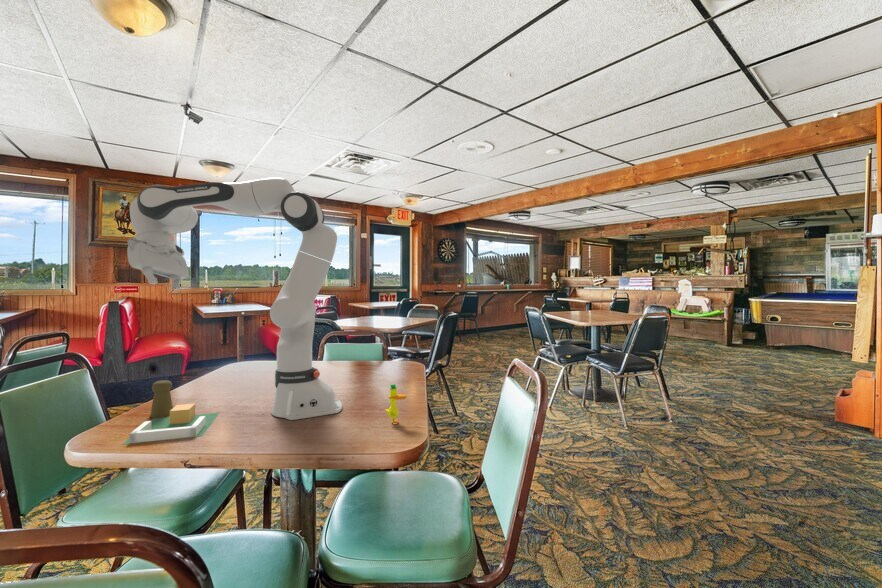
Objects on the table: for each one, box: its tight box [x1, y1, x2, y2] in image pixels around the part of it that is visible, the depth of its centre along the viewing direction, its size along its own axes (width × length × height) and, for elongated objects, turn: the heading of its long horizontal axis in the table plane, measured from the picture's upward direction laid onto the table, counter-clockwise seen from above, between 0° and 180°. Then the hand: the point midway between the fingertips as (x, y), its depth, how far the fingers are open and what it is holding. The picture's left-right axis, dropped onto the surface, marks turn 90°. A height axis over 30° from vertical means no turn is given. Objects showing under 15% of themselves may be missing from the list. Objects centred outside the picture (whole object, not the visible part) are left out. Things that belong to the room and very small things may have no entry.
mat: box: [121, 412, 220, 446], centre depth 109 cm, size 18×20×1 cm
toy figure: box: [384, 383, 408, 424], centre depth 114 cm, size 7×4×12 cm, turn 92°
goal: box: [128, 416, 206, 444], centre depth 104 cm, size 15×10×2 cm, turn 109°
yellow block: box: [169, 403, 196, 424], centre depth 114 cm, size 5×6×4 cm
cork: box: [150, 379, 174, 419], centre depth 119 cm, size 6×6×11 cm
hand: (165, 286), depth 115 cm, fingers open, 8 cm apart
